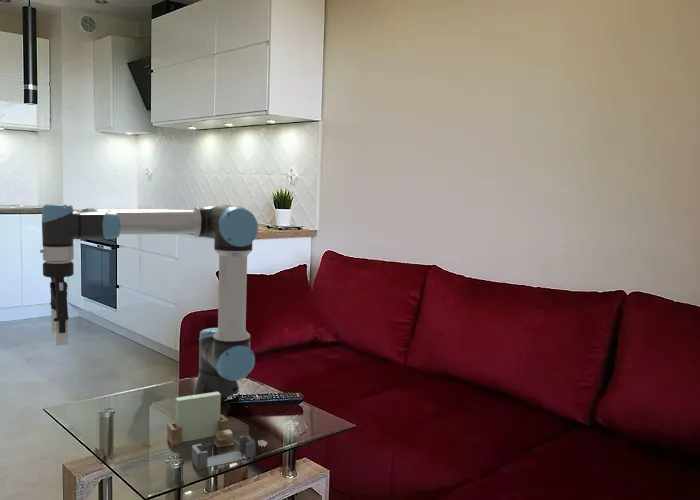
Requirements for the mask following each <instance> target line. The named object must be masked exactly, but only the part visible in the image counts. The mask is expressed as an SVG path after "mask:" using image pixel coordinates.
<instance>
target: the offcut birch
mask: <svg viewBox="0 0 700 500" xmlns="http://www.w3.org/2000/svg"><path fill="white" fill-rule="evenodd" d="M233 444H234V443H233V442H232V444H227V445H223V446H217V445H216V444H215V443H214V442H213V445H215V446H216V447H217V448H220V447H227V446H231V445H233Z"/></svg>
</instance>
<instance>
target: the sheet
mask: <svg viewBox="0 0 700 500" xmlns="http://www.w3.org/2000/svg"><path fill="white" fill-rule="evenodd" d="M221 404H222V402H221V394H220V393H219V392H212V393H205V394H198V395H193V394H192V395H185V396H179V397H175V405H174V407H175V410H174V412H175V416H174V417H175V418H174V419H175V421H174V422H175V428H182V443H184V442H189V441H195V440H201V439H206V438H212V437H216V431H218V421H220V415H221Z"/></svg>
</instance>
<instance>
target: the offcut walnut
mask: <svg viewBox="0 0 700 500" xmlns="http://www.w3.org/2000/svg"><path fill="white" fill-rule="evenodd" d="M214 443H215V444H216V445H217V446H222V447H224V446H223V445H227V444H232V443H233V439H227V440H221V441H219V440H218V439H217V437H216V436H213V444H214ZM215 444H214V445H215ZM216 445H215V446H216ZM232 445H233V444H232ZM217 446H216V447H217ZM227 446H228V445H227Z"/></svg>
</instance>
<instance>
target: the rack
mask: <svg viewBox="0 0 700 500" xmlns="http://www.w3.org/2000/svg"><path fill="white" fill-rule="evenodd" d="M166 426H167V427H166V429H167V431H166V433H167V435H166V439H167V441H168V442H169V444H170V445H171V446H172V447H173V446H179V445H182V444H183V442H182V428H175V421H174V422H169V423H168V422H167V425H166ZM223 430H229V419H227V417H226V416H225V415H224V414H220V421H218V431H223Z"/></svg>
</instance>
